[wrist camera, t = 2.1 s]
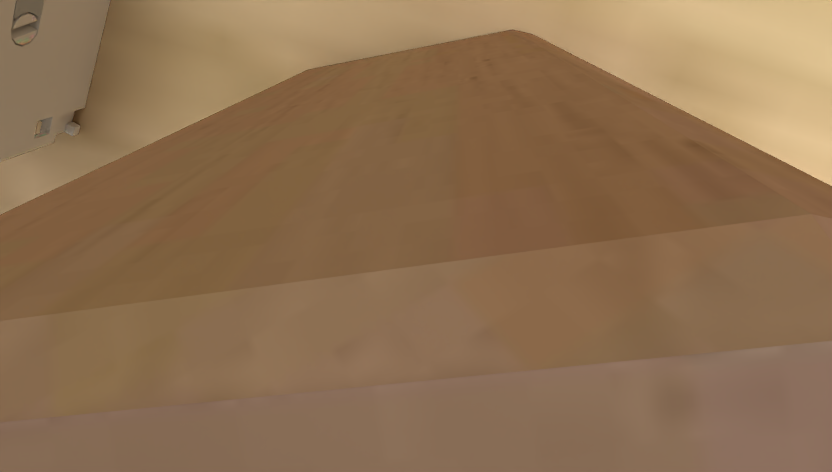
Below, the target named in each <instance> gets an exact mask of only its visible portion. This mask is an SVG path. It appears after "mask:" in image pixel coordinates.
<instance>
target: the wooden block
mask: <svg viewBox="0 0 832 472" xmlns="http://www.w3.org/2000/svg"><path fill="white" fill-rule="evenodd" d="M0 472H832V186H830V185H828V184H826V183H824V182H822V181H820V180H818V179H816V178H814V177H812V176H810V175H808V174H807V173H805V172H803V171H801V170H799V169H797V168H795V167H793V166H791V165H789V164H787V163H785V162H783V161H781V160H779V159H777V158H775V157H773V156H771V155H769V154H767V153H765V152H763V151H761V150H759V149H757V148H755V147H753V146H751V145H749V144H747V143H745V142H744V141H742V140H740V139H738V138H736V137H734V136H732V135H730V134H728V133H726V132H724V131H722V130H720V129H718V128H716V127H714V126H712V125H710V124H708V123H706V122H704V121H702V120H700V119H698V118H696V117H694V116H692V115H690V114H688V113H686V112H684V111H683V110H681V109H679V108H677V107H675V106H673V105H671V104H669V103H667V102H665V101H663V100H661V99H659V98H657V97H655V96H653V95H651V94H649V93H647V92H645V91H643V90H641V89H639V88H637V87H635V86H633V85H631V84H629V83H627V82H625V81H623V80H621V79H620V78H618V77H616V76H614V75H612V74H610V73H608V72H606V71H604V70H602V69H600V68H598V67H596V66H594V65H592V64H590V63H588V62H586V61H584V60H582V59H580V58H578V57H576V56H574V55H572V54H570V53H568V52H566V51H564V50H562V49H560V48H558V47H557V46H555V45H553V44H551V43H549V42H547V41H545V40H543V39H541V38H539V37H537V36H535V35H533V34H529V33H525V32H520V31H516V30H509V31H504V32H498V33H493V34H488V35H483V36H478V37H473V38H468V39H463V40H458V41H453V42H447V43H442V44H437V45H432V46H427V47H422V48H417V49H412V50H407V51H402V52H396V53H391V54H386V55H381V56H376V57H371V58H366V59H361V60H356V61H350V62H345V63H340V64H335V65H330V66H325V67H320V68H315V69H310V70H307V71H304V72H302V73H300V74H298V75H296V76H294V77H292V78H290V79H287V80H285V81H283V82H281V83H279V84H277V85H275V86H273V87H270V88H268V89H266V90H264V91H262V92H260V93H258V94H256V95H253V96H251V97H249V98H247V99H245V100H243V101H241V102H239V103H237V104H234V105H232V106H230V107H228V108H226V109H224V110H222V111H220V112H217V113H215V114H213V115H211V116H209V117H207V118H205V119H203V120H200V121H198V122H196V123H194V124H192V125H190V126H188V127H186V128H184V129H181V130H179V131H177V132H175V133H173V134H171V135H169V136H167V137H164V138H162V139H160V140H158V141H156V142H154V143H152V144H150V145H147V146H145V147H143V148H141V149H139V150H137V151H135V152H133V153H131V154H128V155H126V156H124V157H122V158H120V159H118V160H116V161H114V162H111V163H109V164H107V165H105V166H103V167H101V168H99V169H97V170H94V171H92V172H90V173H88V174H86V175H84V176H82V177H80V178H78V179H75V180H73V181H71V182H69V183H67V184H65V185H63V186H61V187H58V188H56V189H54V190H52V191H50V192H48V193H46V194H44V195H41V196H39V197H37V198H35V199H33V200H31V201H29V202H27V203H25V204H22V205H20V206H18V207H16V208H14V209H12V210H10V211H8V212H5V213H3V214H1V215H0Z"/></svg>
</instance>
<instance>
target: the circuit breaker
mask: <svg viewBox="0 0 832 472" xmlns="http://www.w3.org/2000/svg"><path fill="white" fill-rule="evenodd" d="M110 1H111V0H0V162H1V161H4V160H7V159H10V158H13V157H15V156H18V155H21V154H24V153H27V152H29V151H32V150H35V149H38V148H41V147H43V146H46V145H49V144H52V143H54V140H55V136H56V135H57V134H60V133H63V132H66V133H68V134H70V135H72V136H74V135H77V134H79V130H80V125H78V124H76V123H74V122H72V120H73V116H74V112H75V111H76V110H79V109H83V108H85V105H86V101H87V96H88V92H89V88H90V84H91V80H92V76H93V72H94V67H95V63H96V59H97V55H98V51H99V47H100V42H101V38H102V34H103V30H104V26H105V22H106V17H107V13H108V9H109V5H110ZM39 120H40V121H42V126H41V130H40V133H39V134H36V135H35V132H36V127H37V122H38V121H39Z"/></svg>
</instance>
